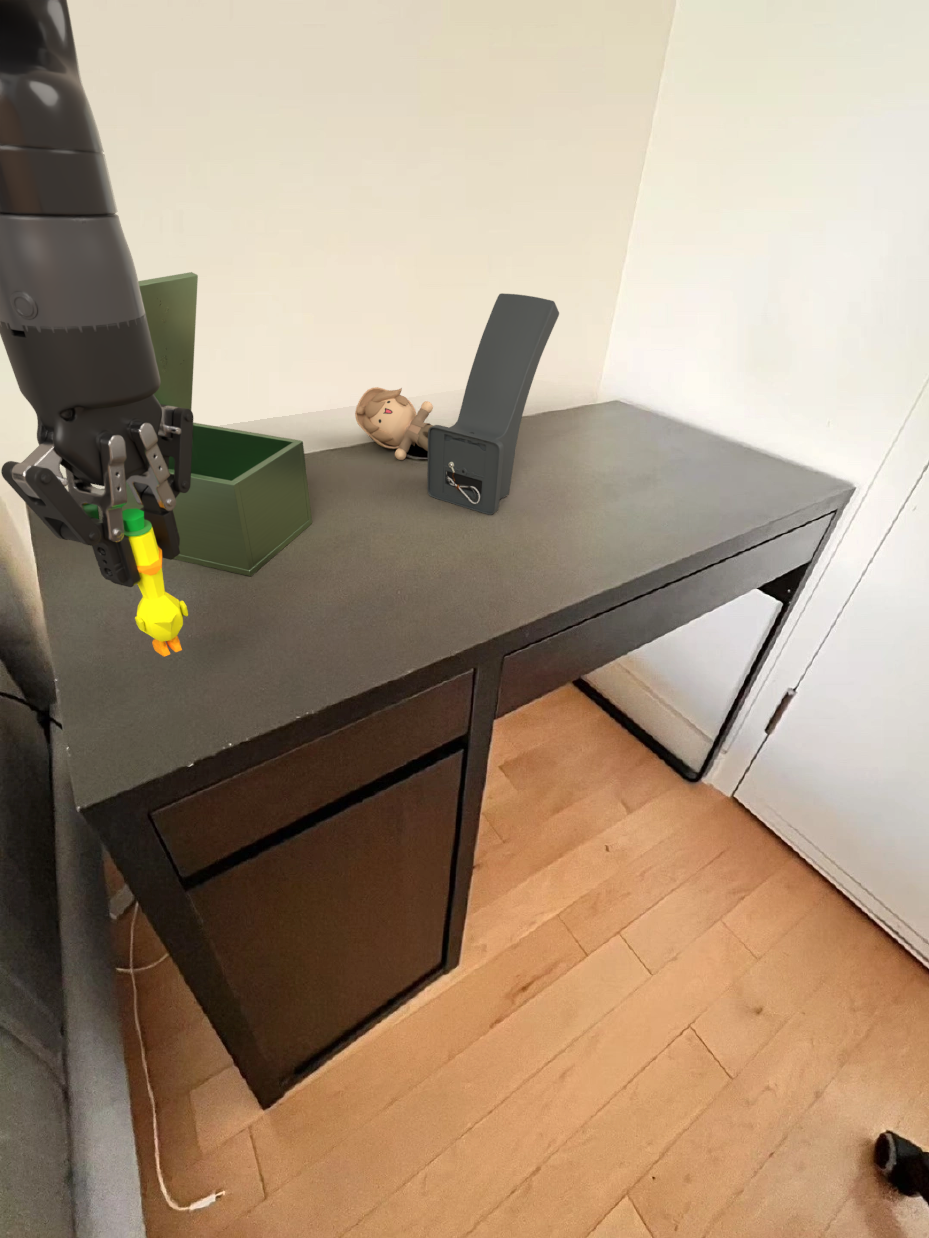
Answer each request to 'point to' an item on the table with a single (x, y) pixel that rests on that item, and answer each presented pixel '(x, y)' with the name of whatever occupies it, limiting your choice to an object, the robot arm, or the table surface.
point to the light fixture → (491, 407)
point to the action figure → (393, 420)
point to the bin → (239, 499)
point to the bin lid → (172, 334)
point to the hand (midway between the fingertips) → (145, 567)
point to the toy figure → (153, 586)
